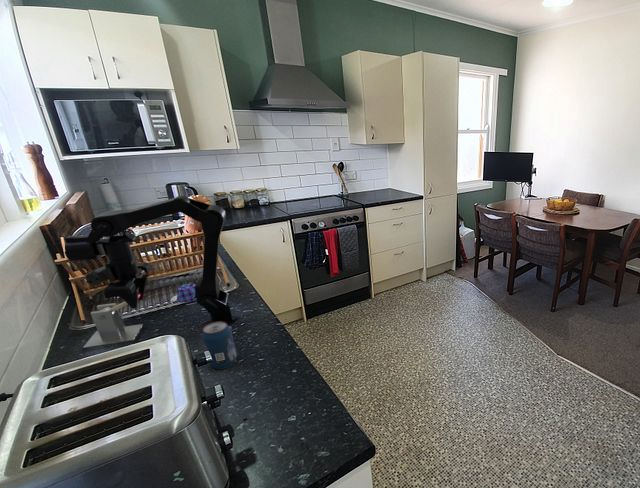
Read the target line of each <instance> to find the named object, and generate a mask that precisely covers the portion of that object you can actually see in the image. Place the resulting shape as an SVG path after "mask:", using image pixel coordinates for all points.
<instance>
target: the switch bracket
mask: <svg viewBox="0 0 640 488" xmlns="http://www.w3.org/2000/svg"><path fill="white" fill-rule="evenodd" d="M117 305H118V304H117V303H116V302H113V303H103V304H98V305H97V306H96V309H97V310H96V311H91V312H90V316H91V318H92V321H93V323H94V325H95V327H96V331H95V332H94V333H93V334H92V336H91V337H90V338H89V339H88V340H87V342H85V344H84V346H83V347H82V348H83V350H84V349H91V348H98V347H103V346H104V347H105V346H111V345H117V344H122V343H130V342H134V341H135V340H136V338H137V337H138V335H139V334H140V332H141V330H142V329H143V327H144V323H140V324H133V325H127V326H126V325H125V322H124V320H123V317H122V314H121V312H120V309H118V310H116V311H114V312H115V313H114V314H112V311H111V309H110V310H103V311H100V310H102V309H104V308H106V307H108V306H109V307H110V308H113V307H115V306H117Z"/></svg>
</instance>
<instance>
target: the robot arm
mask: <svg viewBox="0 0 640 488" xmlns="http://www.w3.org/2000/svg"><path fill="white" fill-rule="evenodd" d="M177 213H180V214H183V215H186V216H187V217H189V218H190V219H192V220H193V221H195V222H199V223H201V229H202V230H201V231H202V233H203V235H204V245H203V260H202V262H203V263H202V278H197V280H196V283H195V293H196V294H195V296H194V298H196V300H195V301H196V302H197V303H196V304H198V305H199V306H201V307H203V308H204V309H205V310H206V312H207V313H208V314H209V316H210V320H211V323H212V322H217V321H223V322H226V323H227V325H228V326H229V324H231V323H233V322H235V321H236V320H237V319H238V318H237V317H236V316H233V315H232V312H231V306H230V305H229V302H228V298H229V296H230V295H229V293H228V292H227V291H225V290H223V289H221V287H220V283H219V278H218V267H219V253H220V237H221V233H222V230H223V228H224V223H225V220H226V217H227V212H226V210H225V209H224V208H223V207H222V206H220V205H217V204H209V203H207V202H203V201H201V200H196V199H193V198H190V197H188V196H186V195H177V196H176V197H172V198H169V199H166V200H161V201H158V202H155V203H151V204H147V205H144V206H139V207H136V208H130V209H115V210H108V211H107V210H106V211H104V212H102V213H100V214H99V215H97V216H95V217H94V218H93V219H92V220H91V222H90V228H91V230H90V232H89V233H88V235H68V236H66V237H65V238H64V242H65V244H64V256H65V257H66V259H67V260H68V261H70V262H80V261H92V260H99V259H101V258H102V256H104V255H105V257H106V259H107V262H106V263H105V264H104V265H103V266H102V267H98V268H97V269H94V270H92V271H91V272H87V273H86V274H85V276H84V279H85V280H86V281H85V282H86V284H89V285H91V286H94V287H97V286H99V285H100V284H102V283H103V282H104V283H105V282H106V281H108V280H109V283H108V285H107V286H105V287H104V289H103V290H102V291H101V293H102V295H103V298H104V299H112V298H120V299H122V300H123V302H126V303H127V304H128V305H127V306H129V307H130V308H131V309H132V310H134V309H136V310H137V308H138V302H139V301H143V300H144V295H145V291H146V286H147V282H148V278H149V273H150V272H151V271H152V267H151V264H150V263H148V262H145V261H141V262H137V261H138V256H137V255H134V253H133V250H132V247H131V244H130V243H132V242H134V241H135V240H136V239H137V235H136V234H133V233H130V232H129V231H127V230H129V229H130V228H132V227H134V226H136V225H139V224H142V223H146V222H149V221H153V220H157V219H159V218H163V217H167V216H171V215H175V214H177ZM122 232H124V233H123V234H120V233H122ZM143 271H144V272H145V273H146V274H145V273H144V274H143ZM116 281H117V282H116ZM138 293H141V296H140V298H139V299H138Z"/></svg>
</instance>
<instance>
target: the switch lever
mask: <svg viewBox="0 0 640 488" xmlns="http://www.w3.org/2000/svg"><path fill="white" fill-rule="evenodd" d="M140 296H141V293H138V299H139V298H140ZM126 306H129V305H128V304H127V303H126V302H125V301H122V302H121V303H118V304H117V306H115V307H113V308H110V307H109V306H108V307H106V308H104V309H102V310H100V311H103V310H110V309H111V311H112V314H114V313H115V312H114V311H116V310H118V309H119V310H120V309H123V308H125V307H126Z"/></svg>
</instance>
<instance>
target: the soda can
mask: <svg viewBox="0 0 640 488" xmlns="http://www.w3.org/2000/svg"><path fill="white" fill-rule="evenodd" d="M201 340H202V343H203V346H204V349H205V352H206V351H209V352H210V353H211V355H212V357H213V361H212V362H211V363H210V364H209V365H210V367H212V368H214V369H217V370H223V369H227V368H229V367H231V366H232V365H234V363H235V362H236V360H237V358H238V353H237V349H236V345H235V341H234V336H233V333H232V329H231V326H229V324H228V325H227V323H226V322H223V321H217V322H212V321H211V322H210V323H208V324H206V325H204V326H203V328H202V332H201Z"/></svg>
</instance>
